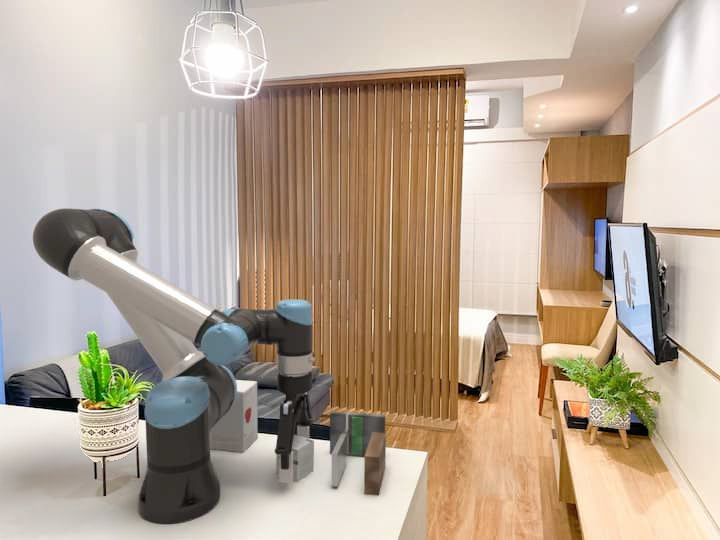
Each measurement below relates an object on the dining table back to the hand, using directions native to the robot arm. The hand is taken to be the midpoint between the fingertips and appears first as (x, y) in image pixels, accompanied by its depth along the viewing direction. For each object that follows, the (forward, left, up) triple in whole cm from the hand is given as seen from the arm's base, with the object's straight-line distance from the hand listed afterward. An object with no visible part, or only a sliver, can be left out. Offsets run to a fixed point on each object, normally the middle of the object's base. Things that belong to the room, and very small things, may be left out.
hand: (295, 467), depth 113 cm
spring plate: (+10, +2, -1) cm, 10 cm away
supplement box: (-19, +12, -2) cm, 23 cm away
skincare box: (0, 0, -2) cm, 2 cm away
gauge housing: (+12, +3, -1) cm, 13 cm away
